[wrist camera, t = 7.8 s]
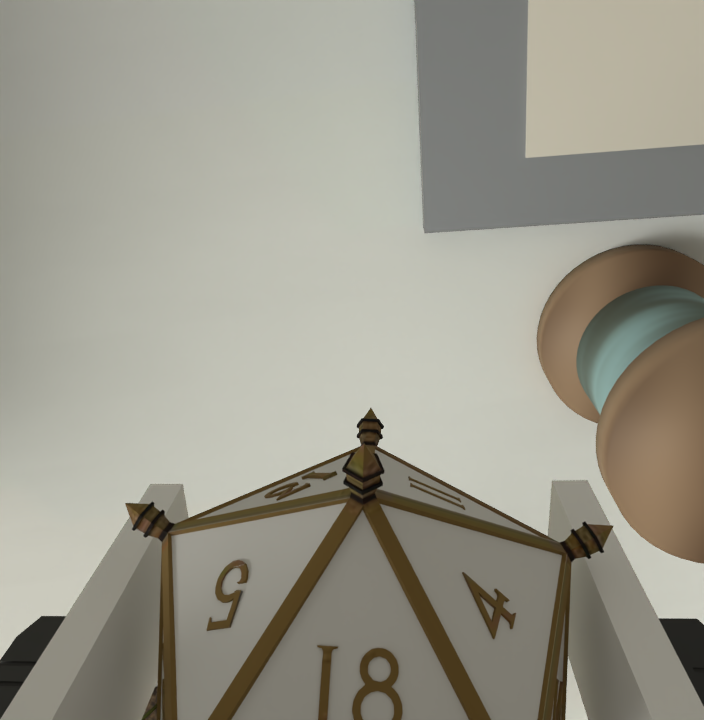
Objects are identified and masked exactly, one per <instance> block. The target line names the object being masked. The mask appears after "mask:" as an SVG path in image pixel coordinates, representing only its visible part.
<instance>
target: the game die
mask: <svg viewBox="0 0 704 720" xmlns="http://www.w3.org/2000/svg"><path fill="white" fill-rule="evenodd" d="M357 428H359V433H358V434H357V438H360V442H361V446H360V447H358V448H355V449H353V450H351V451H348V452H346V453H343V454H341V455H339V456H336V457H334V458H331V459H329V460H327V461H324V462H322V463H320V464H317V465H315V466H312V467H310V468H308V469H305V470H303V471H300V472H298V473H296V474H293V475H291V476H288V477H286V478H284V479H281V480H279V481H276V482H274V483H272V484H269V485H267V486H264V487H262V488H260V489H257V490H255V491H252V492H250V493H248V494H245V495H243V496H240V497H238V498H236V499H233V500H231V501H228V502H226V503H224V504H221V505H219V506H216V507H214V508H212V509H209V510H207V511H205V512H202V513H200V514H197V515H195V516H193V517H190V518H188V519H185V520H183V521H181V522H178V523H176V524H174V523H171V522H169V520H168V519H167V518H166V516H165V515H164V514H165V511H164V510H161V511H159V510H158V509H157V508H155V507H154V502H151V503H150V504H135V503H125V504H126V507H127V510H128V512H129V515H130V518H131V521H132V524H133V528H132V530H133V531H135V530H136V529H138V530H139V531H141V532H143V533H144V535H143V536H144V537H145V538H146V537H148V536H151V537H155V538H158V539H159V540H160V541H161V542H162V551H161V585H160V619H159V653H158V687H157V720H565V710H566V686H567V661H568V637H569V613H570V588H571V564H572V562H573V561H574V560H575V559H577V558H582V557H587V558H588V559H590V558H591V556H590V555H592V554H594V553H596V552H598V551H599V552H600V553H604V550H603V547H604V545H605V543H606V540H607V538H608V536H609V534H610V532H611V530H612V528H613V526H610V525H594V524H587V523H586V522H585V521H584V522H583V523H582V524H583V526H582V527H581V528H579V529H577V530H576V531H575V530H574V529H572V530H571V534H570V536H569V537H568V538H567V539H566V540H565V541H562V542H558V541H556V540H554V539H552V538H550V537H548V536H546V535H544V534H542V533H540V532H539V531H537V530H535V529H533V528H531V527H529V526H527V525H525V524H523V523H521V522H520V521H518V520H516V519H514V518H512V517H510V516H508V515H506V514H504V513H502V512H501V511H499V510H497V509H495V508H493V507H491V506H489V505H487V504H485V503H483V502H482V501H480V500H478V499H476V498H474V497H472V496H470V495H468V494H466V493H464V492H463V491H461V490H459V489H457V488H455V487H453V486H451V485H449V484H447V483H445V482H443V481H442V480H440V479H438V478H436V477H434V476H432V475H430V474H428V473H426V472H424V471H423V470H421V469H419V468H417V467H415V466H413V465H411V464H409V463H407V462H405V461H404V460H402V459H400V458H398V457H396V456H394V455H392V454H390V453H388V452H386V451H385V450H383V449H381V448H379V447H377V445H378V442H379V440H380V439H382V438H383V436H382V434H381V429H383V428H384V426H383V424H382V423H381V422H380V420H379V419H377V417H376V416H375V414H374V412H373V410H372V409H371V408H370V410H369V411H368V413H367V414H366V416H365V417H364V418H362V419H361V420H360V421H359V423H358V424H357Z"/></svg>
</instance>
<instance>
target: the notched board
mask: <svg viewBox="0 0 704 720" xmlns="http://www.w3.org/2000/svg"><path fill="white" fill-rule="evenodd" d="M415 25H416V50H417V76H418V101H419V127H420V153H421V178H422V204H423V228H424V233H435V232H450V231H465V230H480V229H494V228H509V227H524V226H539V225H554V224H569V223H584V222H598V221H613V220H628V219H643V218H658V217H673V216H688V215H703V214H704V0H415Z"/></svg>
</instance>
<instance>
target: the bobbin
mask: <svg viewBox="0 0 704 720" xmlns="http://www.w3.org/2000/svg"><path fill="white" fill-rule="evenodd" d="M537 350H538V355H539V360H540V363H541V366H542V369H543V371H544V373H545V375H546V377H547V378H548V380H549V382H550V384H551V386H552V388H553V389H554V391H555V392H556V394H557V395H558V396H559V398H560V399H561V400H562V401H563V402H564V403H565V404H566V405H567V406H568V407H569V408H570V409H572V410H573V411H574V412H576V413H577V414H579V415H580V416H582V417H584V418H586V419H588V420H591V421H593V422H596V423H598V426H597V433H596V454H597V460H598V466H599V469H600V472H601V475H602V478H603V480H604V482H605V484H606V486H607V488H608V490H609V491H610V493H611V495H612V497H613V499H614V501H615V502H616V504H617V506H618V508H619V510H620V511H621V513H622V515H623V516H624V518H625V519H626V520H627V522H628V523H629V524H630V526H631V527H632V528H633V529H634V530H635V531H636V532H637V533H638V534H639V535H640V536H641V537H643V538H644V539H645V540H647V541H648V542H649V543H651V544H652V545H654V546H655V547H657V548H659V549H661V550H663V551H665V552H666V553H669V554H671V555H674V556H677V557H679V558H682V559H686V560H690V561H694V562H697V563H704V265H702V264H701V263H699V262H697V261H696V260H694V259H692V258H690V257H688V256H686V255H684V254H682V253H680V252H677V251H675V250H672V249H669V248H665V247H661V246H654V245H629V246H622V247H618V248H614V249H610V250H608V251H605V252H602V253H600V254H597V255H595V256H593V257H592V258H590V259H588V260H586V261H584V262H583V263H582V264H580V265H579V266H577V267H576V268H574V269H573V270H572V271H571V272H570V273H569V274H568V275H566V276H565V277H564V279H563V280H562V281H561V282H560V283H559V284H558V285H557V287H556V288H555V289H554V291H553V292H552V294H551V295H550V297H549V299H548V301H547V302H546V304H545V306H544V309H543V311H542V314H541V317H540V321H539V325H538V332H537Z"/></svg>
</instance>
